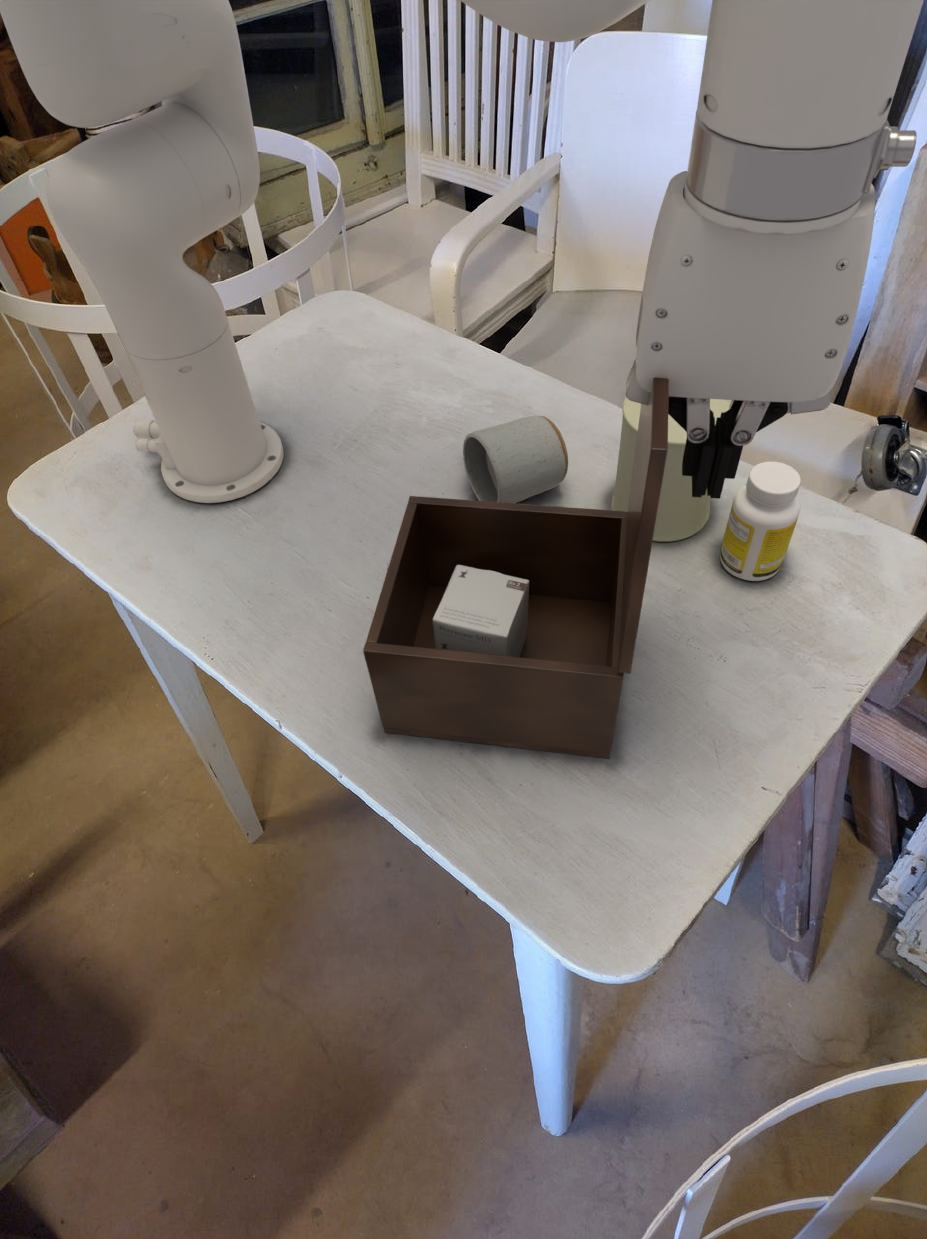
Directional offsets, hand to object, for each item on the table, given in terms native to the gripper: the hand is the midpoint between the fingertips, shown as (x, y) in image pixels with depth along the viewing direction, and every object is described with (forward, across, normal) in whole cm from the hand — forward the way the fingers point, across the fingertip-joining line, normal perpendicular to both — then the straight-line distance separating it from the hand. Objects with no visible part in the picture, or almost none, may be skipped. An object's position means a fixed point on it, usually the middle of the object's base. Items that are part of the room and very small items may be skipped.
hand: (705, 482), depth 49 cm
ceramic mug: (+21, +15, -22) cm, 34 cm away
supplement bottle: (+21, -8, -14) cm, 27 cm away
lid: (+1, +4, 0) cm, 4 cm away
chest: (+21, +12, 0) cm, 24 cm away
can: (+21, 0, -20) cm, 29 cm away
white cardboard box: (+20, +14, 0) cm, 25 cm away
